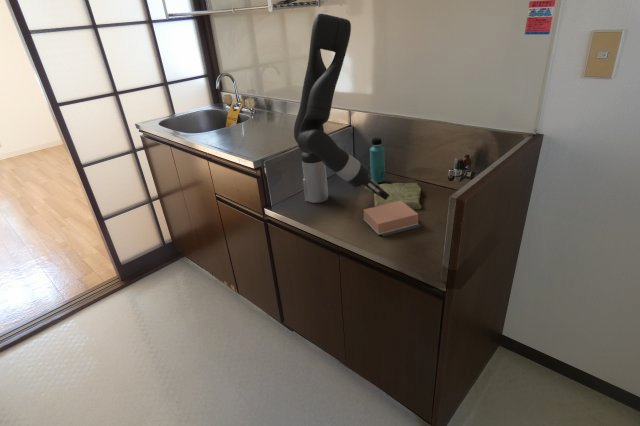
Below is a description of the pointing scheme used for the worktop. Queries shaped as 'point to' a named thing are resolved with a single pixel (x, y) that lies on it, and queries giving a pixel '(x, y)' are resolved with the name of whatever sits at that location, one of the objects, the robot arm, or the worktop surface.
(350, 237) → the worktop surface
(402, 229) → the mat
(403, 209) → the terracotta tile
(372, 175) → the beverage bottle
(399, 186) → the decorative tile
